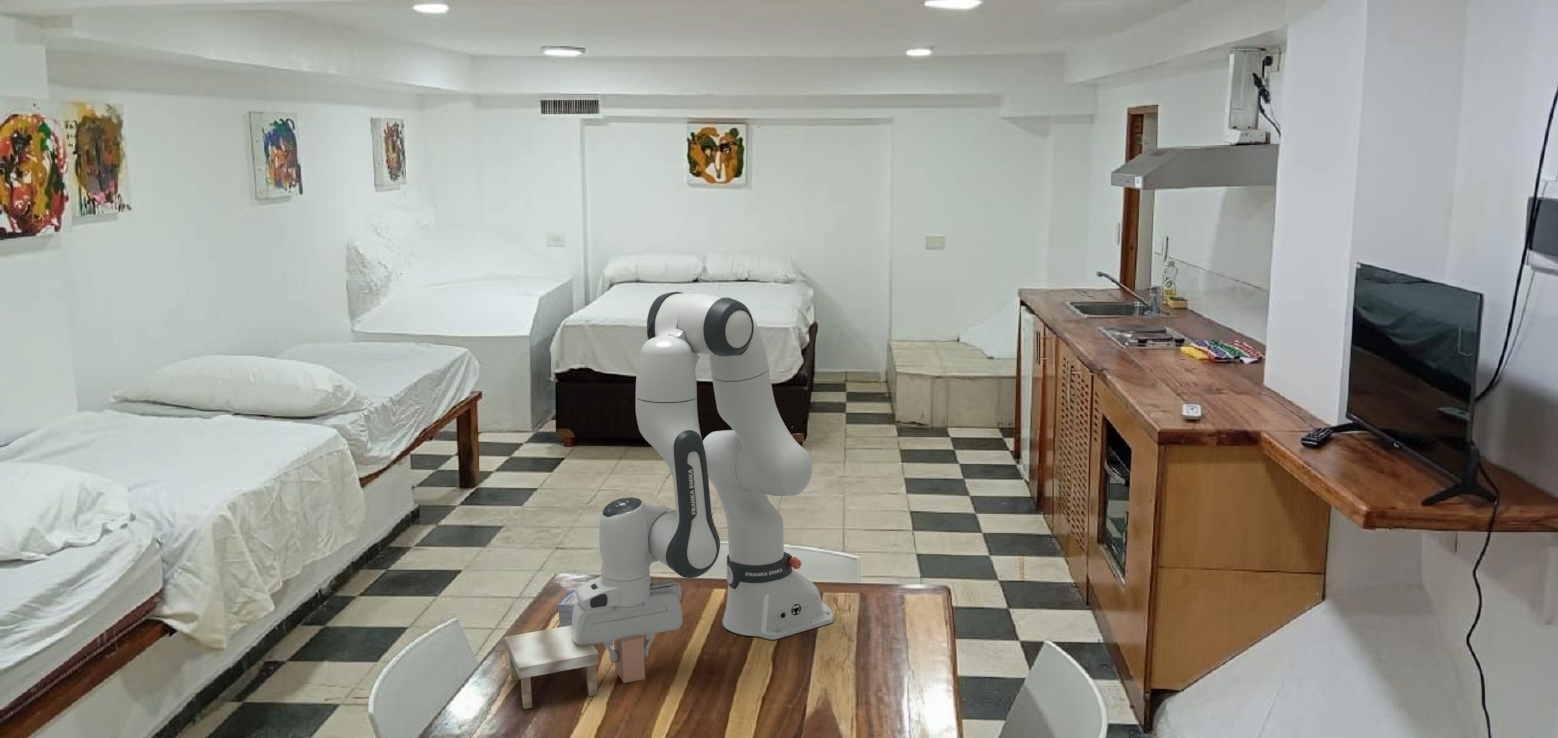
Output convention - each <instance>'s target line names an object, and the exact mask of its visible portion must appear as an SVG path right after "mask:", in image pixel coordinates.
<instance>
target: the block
mask: <svg viewBox="0 0 1558 738" xmlns="http://www.w3.org/2000/svg"><path fill="white" fill-rule="evenodd" d="M613 648H614V649H613V650H618V652H619V653H620V657H619V658H620V661H619V662H614V670H615V672H616V673H617V675H618V676H619V678H620V680H621V681H622V683H623V684H627V683H631V682H636V681H641V680H645V679H646V671H645V670H646V668H645V657H644V637H643V636H641V635H640V636H635V637H629V638H624V639H620V640H615V641H613Z"/></svg>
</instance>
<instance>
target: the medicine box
mask: <svg viewBox="0 0 1558 738" xmlns="http://www.w3.org/2000/svg"><path fill="white" fill-rule="evenodd" d="M576 589H577V588H575V589H572V590H571V591H570V592H569V593H568V594H567V595H566V596H565V597H564V598H563V599H562V600H561V601H560V602H559V603H558V604H557V606H558V607H557V608H558V623H559V624H558V625H559V627H565V626H571V625H572V614H573V609H574V606H575V604H576V603H577V602H578V599H577V596H576Z"/></svg>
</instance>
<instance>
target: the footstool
mask: <svg viewBox="0 0 1558 738" xmlns="http://www.w3.org/2000/svg"><path fill="white" fill-rule="evenodd" d="M504 644H505V645H504V647H505V650H506V652H507V654H508V658H509V673H510V674H509V675H510V680H511V682H516V681H520V687H521V688H520V689H521V700H522V708H523V709H524V710H525V709H531V708H533V699H532V698H533V697H532V684H531V683H532V682H531V678H533V677H537V676H542V675H547V674H553V673H558V672H563V671H570V670H573V669H574V670H580V669H583V668H584V667H585V668H586V685H587V694H588V696H589V697H593V696H597V695H598V682H597V678H598V677H597V665H600V653H599V651H598V650H597V649H596V647H595V644H590V645H585V646H579V645H577V644H576V643H575V642H574V640H573V638H572V625H571V626H565V627H560V626H559V627H554V628H549V629H543V630H542V629H541V630H537V631H531V632H525V633H519V634H514V635H509V636H507V635H506V636H504Z"/></svg>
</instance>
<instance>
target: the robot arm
mask: <svg viewBox="0 0 1558 738" xmlns="http://www.w3.org/2000/svg"><path fill="white" fill-rule="evenodd" d="M646 336H647V340H646V341H645V342H644V343H643V344H642V346H641V349H640V351H639V356H638V364H637V369H636V378H635V417H636V422H637V427H638V431H639V433H640V434H641V436H642V437H643V438H644V440H645V441H646V442H647V443H648V444H649V445H651V447H652V448H653V449H654V450H656V452H657V453H658V454H659V455H660V457H661V458H662V459H663V461H664V462H665V463H666V465H667V466H668V469H669V471H670V474H671V476H672V482H673V491H674V492H673V493H674V503H675V509H674V508H671V507H670V506H669V507H668V506H662V505H660V506H657V505H653V504H649V503H647V502H645V501H643V500H642V499H640V498H638V497H633V496H632V497H621V498H618V499H614V500H612V501H611V502H609V503H608V504H607V505H605V507H604V508H603V509H602V512H601V515H600V519H599V527H598V528H599V531H598V534H599V536H598V540H599V542H598V543H599V544H598V546H599V554H600V555H601V556H600V557H601V561H602V565H601V568H600V576H598V577H596V578H595V579H592V580H590V581H588V582H586V583H584V584H582V585H580V586H578V587H577V588H575V589H576V596H577V599H578V602H577V603H576V604H575V606H574V609H573V614H572V638H573V640H574V642H575V643H576V644H577V645H579V646H585V645H590V644H593V645H598V644H603V645H604V647H605V648H606V650H607V651H608V653H609V661H610V662H611V664H615V662H619V661H620V658H619V657H620V653H619V652H618V650H614V649H613V648H612V647H614V641H615V640H620V639H624V638H629V637H635V636H640V635H641V636H642V637H643V636H644V639H643V642H644V658H646V657H649V655H650V654H649V648H650V647H651V645H652V643H653V641H654V640H655V636H654V635H655V634H658V633H665V632H669V631H675V630H679V629H680V628H681V626H682V625H683V624H684V623H683V621H684V619H683V612H682V606H681V602H680V600H681V598H682V587H681V585H680V583H678V582H676V581H674V580H673V579H670V580H669V579H668V580H665V581H655V582H651V564H652V563H656V562H659V563H661V564H663V565H665V566H667V567H669V568H670V569H671V570H672V571H673V572H675V574H677V575H679V576H680V577H682V578H685V579H695V578H699V577H700V576H702V575H704V574H705V573H707V572H709V570H710V569H711V568H712V567H713V566H714V565H715V563H716V561H717V559H718V558H719V555H720V549H721V540H720V536H719V535H720V534H719V532H718V530H717V528H716V526H715V522H714V519H713V511H712V503H711V493H710V492H711V491H710V482H711V484H712V485H713V487H714V489H715V491H716V493H717V495H718V497H719V500H720V503H721V505H722V508H723V511H724V514H725V515H724V516H725V519H726V527H727V528H726V529H727V539H728V540H727V542H728V543H727V544H728V545H727V547H728V554H727V555H726V569H725V570H726V572H725V573H726V581H727V584H728V585H727V586H728V587H727V588H728V589H727V598H726V606H725V610H724V614H723V618H722V621H721V623H722V626H723V627H724V628H725V629H726V630H728V631H730V632H731V633H734V634H738V635H742V636H749V637H757V638H759V637H760V638H763V639H766V640H771V641H772V640H779V639H782V638H784V637H789V636H793V635H795V634H798V633H802V632H805V631H809V630H812V629H815V628H818V627H823V626H825V625H829V624H832V623H833V622H834V619H835V618H834V612H833V611H832V609H831V608H830V607H829V606H828V605H827V604H826V603H825V602H823V600H822V597H821V594H820V591H819V589H818V588H817V586H816V585H815V584H814V583H813V582H812V581H811V580H810V579H808V578H807V577H806V576H803V575H802V574H801V573H799V572H798V571H796V570H799V569H800V568H801V567H802V561H801V559H798V557H796V556H793V555H791V554H790V553H789V552H786V551H784V548H785V547H784V545H785V544H784V543H785V541H784V540H785V539H784V520H783V517H782V515H781V513H780V511H779V510H778V509H777V508H776V507H775V506H774V505H773V504H772V502H771V501H770V499H769V498H768V495H769V496H772V497H791V496H792V497H793V496H797V495H799V494H801V493H802V492H803V491H804V490H805V489H806V488H807V487H808V485H809V483H810V481H811V478H812V475H813V462H812V459H811V455H810V454H809V452H808V451H807V449H805V448H804V447H803V446H802V445H800V444H799V443H798V441H797V440H796V439H795V438H794V437H793V436H792V434H791V433H790V431H789V430H788V428H787V426H786V424H785V423H784V420H783V419H782V417H781V415H780V413H779V409H778V407H777V404H776V401H775V397H774V391H773V386H772V381H771V374H770V365H769V361H768V356H767V351H766V347H765V344H764V340H763V338H762V337H763V336H762V334H761V332H760V329H759V325H758V324H757V322H756V321H755V320H754V318H753V315H752V313H751V311H750V310H749V308H748V307H747V306H746V304H744V303H742V301H739V300H737V299H734V298H731V297H727V296H726V297H724V296H723V297H722V296H719V295H716V294H712V293H711V294H710V293H703V292H699V293H695V292H682V291H671V292H666V293H663V294H661V295H659V296H657V297H656V298H655V299H654V300H653V302H652V304H651V305H650V308H649V310H648V315H647V319H646ZM699 354H704V355H709V363H710V365H709V366H710V373H711V378H712V379H711V380H712V385H713V392H714V397H715V404H716V409H717V412H718V414H719V416H720V417H721V418H722V420H723V421H724V422H725V423H726V424H727V425H728V426H730V428H731V429H727V430H716V431H712V432H709V434H708V435H706V436H705V437H704V439H703V438H702V435H701V429H700V423H699V414H698V393H697V392H698V391H697V390H698V389H697V387H698V385H697V384H698V383H697V375H696V374H697V373H696V367H697V364H698V362H699V360H700V357H701V355H699Z"/></svg>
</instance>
